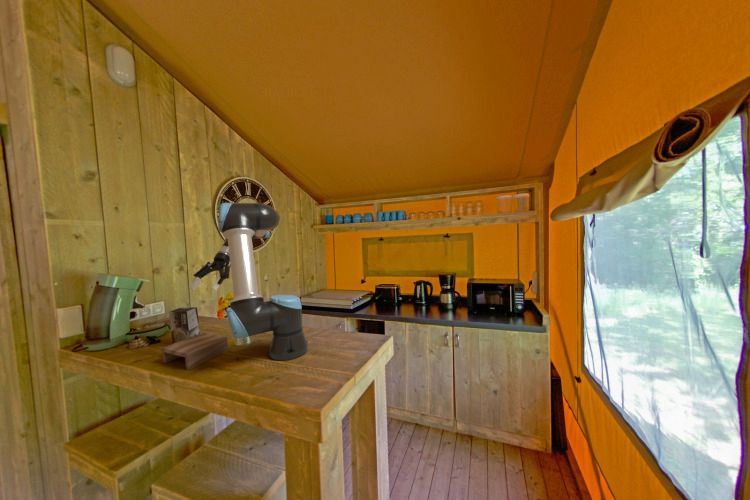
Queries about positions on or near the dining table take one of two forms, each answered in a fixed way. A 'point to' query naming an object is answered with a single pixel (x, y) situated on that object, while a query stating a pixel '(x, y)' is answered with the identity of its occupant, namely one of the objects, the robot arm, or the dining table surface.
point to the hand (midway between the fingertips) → (202, 289)
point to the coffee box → (184, 323)
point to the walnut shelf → (196, 349)
